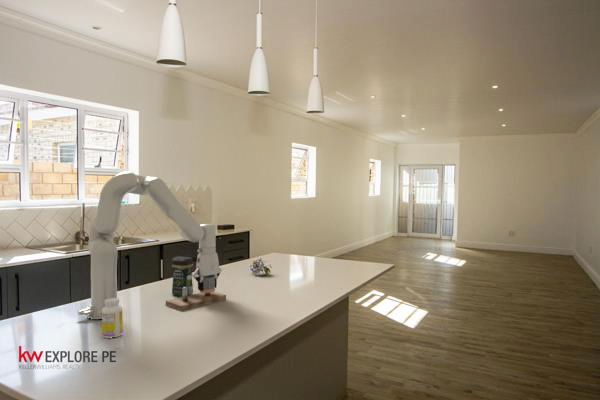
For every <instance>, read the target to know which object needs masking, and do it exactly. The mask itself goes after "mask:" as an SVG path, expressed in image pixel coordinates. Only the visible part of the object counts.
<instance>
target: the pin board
mask: <svg viewBox="0 0 600 400" xmlns="http://www.w3.org/2000/svg"><path fill="white" fill-rule="evenodd" d="M225 300H227V294H224V293H220V292H217V291H214V292H212V293H210V296H205V293H201V292H198V293H192V294H191V295H189V296H188V301H182V296H179V297H176V298H173V299H168V300H165V306H166V307H169V308H172V309H174V310H177V311H180V312H182V311H185V310H189V309H193V308H198V307H202V306H205V305H209V304H212V303H216V302H217V303H218V302H221V301H225Z"/></svg>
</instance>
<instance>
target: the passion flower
mask: <svg viewBox="0 0 600 400" xmlns="http://www.w3.org/2000/svg"><path fill="white" fill-rule="evenodd" d="M266 263H267V261H266V260H264V261H263V258H262V257H260V258H259V259H256V260H253V261H252V263H251V264H250V267H248V268H247V270H250V271H251V275H253V276H254V277H255V276H257V275H260V274H261V272H262V273H265V275H266V276H267V277H268V276H269V274H271V269H272V268H273V267H272V265H271V264H269V265H266ZM268 266H269V267H270V268H269V267H268Z"/></svg>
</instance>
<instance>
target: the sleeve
mask: <svg viewBox="0 0 600 400" xmlns="http://www.w3.org/2000/svg"><path fill="white" fill-rule="evenodd" d="M200 278H201V277H200ZM202 282H203V291H200V290H199V293H212V292H216V288H215V276H214V275H210V276H205V277H204V278H203V281H202Z"/></svg>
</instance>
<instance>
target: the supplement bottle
mask: <svg viewBox="0 0 600 400" xmlns="http://www.w3.org/2000/svg"><path fill="white" fill-rule="evenodd" d="M119 303H120V299H119V297H117V298H109V299H106V300H105V301H104V304H105V307H104V308H103V309H102V320H101V336H102V338H104V337H105V338H104V339H108V338H110V339H112V338H111V337H116V338H118V337H117V336H119V337H120V335H121V336H122V335H123V332H124V329H123V327H124V326H123V325H124V323H123V322H124V321H123V307H122V306H121V305H120V304H119Z"/></svg>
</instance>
